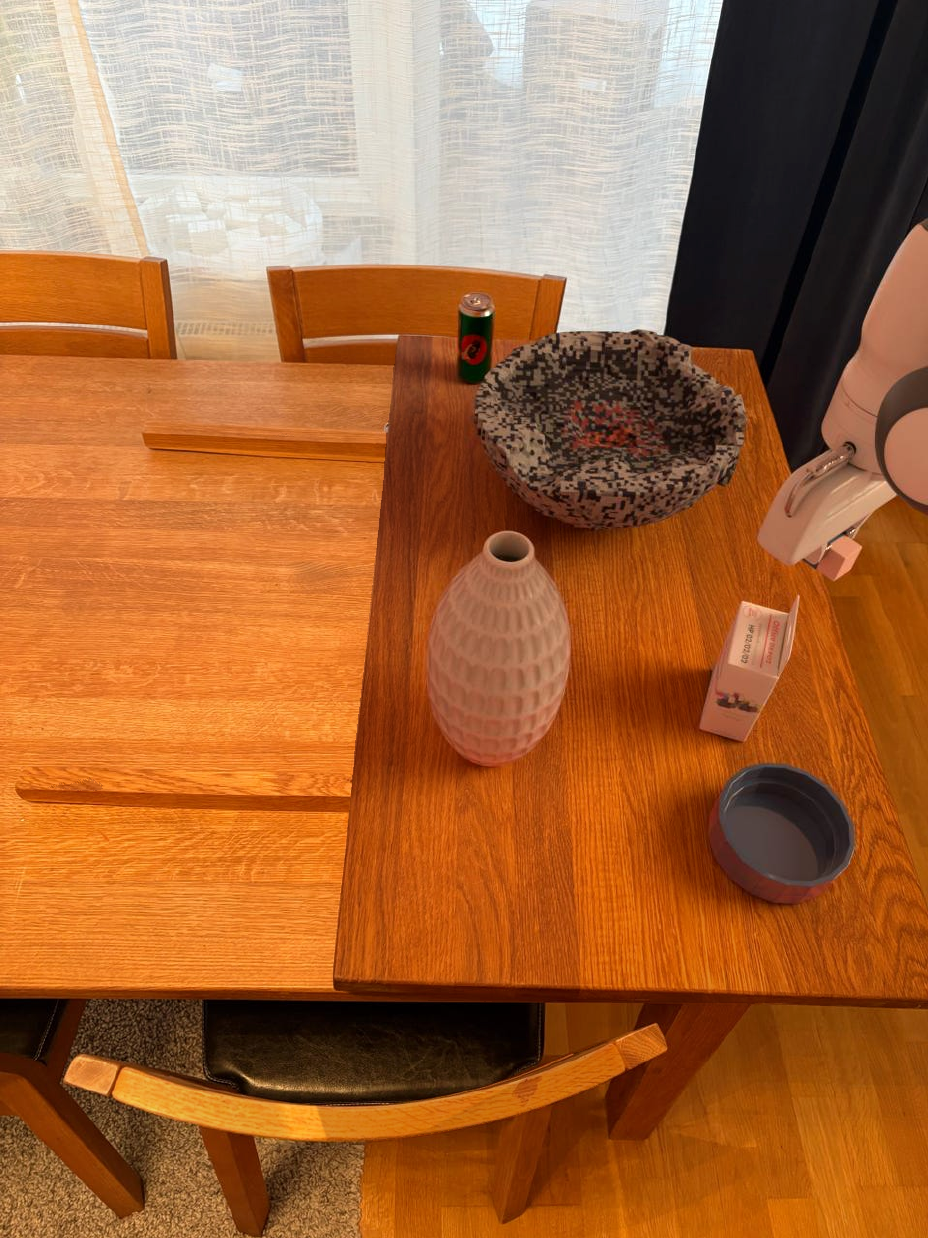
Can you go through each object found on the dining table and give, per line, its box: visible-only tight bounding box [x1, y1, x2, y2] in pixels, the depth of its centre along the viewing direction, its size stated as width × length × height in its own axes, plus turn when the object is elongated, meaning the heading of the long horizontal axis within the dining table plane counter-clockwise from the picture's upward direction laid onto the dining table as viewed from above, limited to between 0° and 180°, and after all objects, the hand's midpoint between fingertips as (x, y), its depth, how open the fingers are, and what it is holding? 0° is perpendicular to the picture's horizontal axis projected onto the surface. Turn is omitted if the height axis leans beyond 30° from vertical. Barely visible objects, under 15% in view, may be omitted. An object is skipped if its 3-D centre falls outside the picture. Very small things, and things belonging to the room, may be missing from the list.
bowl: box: [473, 328, 748, 532], centre depth 105 cm, size 31×31×15 cm
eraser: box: [801, 532, 863, 582], centre depth 77 cm, size 5×3×3 cm, turn 37°
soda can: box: [456, 291, 496, 385], centre depth 121 cm, size 5×5×12 cm
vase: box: [425, 530, 572, 768], centre depth 76 cm, size 13×13×28 cm
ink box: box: [698, 594, 800, 743], centre depth 84 cm, size 8×5×15 cm, turn 160°
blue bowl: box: [707, 762, 856, 905], centre depth 79 cm, size 12×12×4 cm
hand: (826, 547), depth 77 cm, fingers closed on eraser, 2 cm apart
